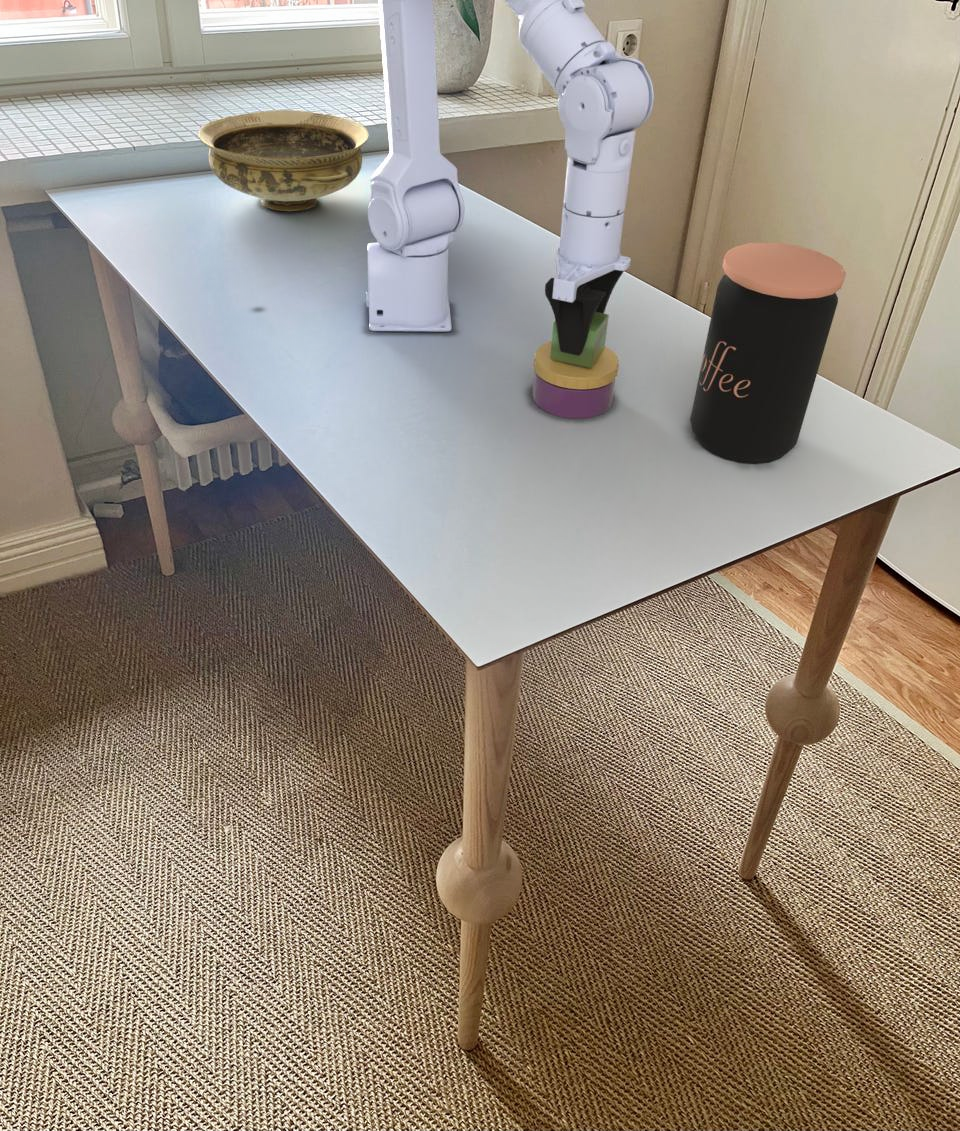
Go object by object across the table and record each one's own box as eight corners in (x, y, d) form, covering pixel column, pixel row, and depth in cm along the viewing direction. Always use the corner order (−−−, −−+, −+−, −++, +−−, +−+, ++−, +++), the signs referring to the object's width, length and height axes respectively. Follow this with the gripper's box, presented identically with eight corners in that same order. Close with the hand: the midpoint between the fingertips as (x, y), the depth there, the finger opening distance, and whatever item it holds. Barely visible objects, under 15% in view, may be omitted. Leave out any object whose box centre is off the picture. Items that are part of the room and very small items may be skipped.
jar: (537, 418, 99) (540, 381, 96) (528, 378, 105) (531, 343, 103) (618, 418, 100) (624, 382, 97) (604, 379, 106) (609, 343, 103)
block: (591, 368, 97) (596, 331, 95) (549, 359, 98) (553, 322, 96) (604, 350, 100) (609, 314, 98) (563, 341, 102) (567, 305, 99)
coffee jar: (676, 411, 101) (709, 241, 90) (775, 411, 102) (821, 242, 91) (703, 468, 93) (743, 288, 82) (811, 467, 94) (865, 289, 83)
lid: (538, 389, 97) (539, 378, 96) (529, 349, 103) (530, 338, 103) (624, 390, 97) (626, 378, 97) (609, 349, 104) (611, 338, 103)
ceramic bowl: (412, 220, 141) (412, 148, 134) (259, 251, 130) (251, 173, 123) (315, 162, 159) (310, 96, 153) (174, 184, 148) (163, 114, 142)
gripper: (613, 240, 83) (594, 382, 92) (656, 191, 94) (636, 322, 103) (536, 226, 85) (525, 365, 94) (586, 179, 96) (572, 309, 105)
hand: (578, 342), depth 98 cm, fingers closed on block, 4 cm apart
